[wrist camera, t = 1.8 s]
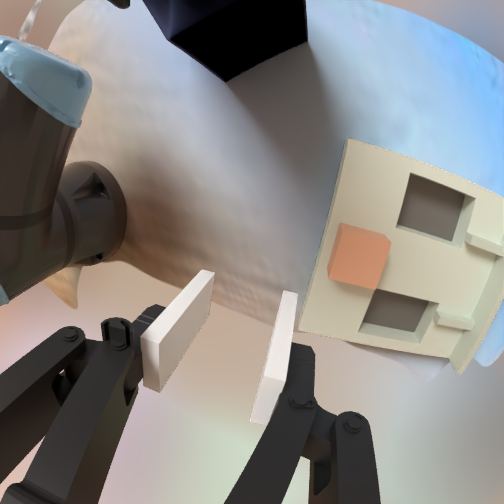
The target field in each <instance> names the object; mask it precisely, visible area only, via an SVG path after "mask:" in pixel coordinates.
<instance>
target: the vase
mask: <svg viewBox="0 0 504 504" xmlns="http://www.w3.org/2000/svg"><path fill="white" fill-rule="evenodd" d="M108 1H109V2H111V3H112V4H113V5H115V6H116V7H118V8H120V9H126V8H128V7H129V6H130V0H108ZM143 2H144V3H145V5H146V7H147V8H148V10H149V11H150V13H151V15H152V16H153V18H154V20H155V21H156V23H157V24H158V26H159V28H160V29H161V31H162V33H163V34H164V36H165V38H166V39H167V40H168V41H169V42H171V43H172V44H174V45H175V46H176V47H178V48H179V49H181V50H182V51H184V52H185V53H186V54H188V55H189V56H191V57H192V58H193V59H195V60H196V61H197V62H199V63H200V64H201V65H203V66H204V67H205V68H207V69H208V70H209V71H211V72H212V73H213V74H215V75H216V76H217V77H218V78H220V79H221V80H222V81H224V82H225V83H226V82H227V81H229V80H231V79H233V78H234V77H236V76H238V75H240V74H241V73H243V72H245V71H247V70H249V69H251V68H253V67H254V66H256V65H258V64H260V63H262V62H264V61H266V60H268V59H270V58H272V57H274V56H276V55H278V54H281V53H283V52H285V51H287V50H289V49H291V48H294V47H296V46H298V45H300V44H303V43H305V42H307V41H308V31H307V14H306V0H143Z"/></svg>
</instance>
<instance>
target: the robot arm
mask: <svg viewBox="0 0 504 504" xmlns="http://www.w3.org/2000/svg"><path fill="white" fill-rule="evenodd" d="M91 90H92V80H91V77H90V75H89V74H88V72H87V71H86V70H84V69H83V68H81V67H80V66H78V65H76V64H74V63H72V62H70V61H69V60H67V59H64V58H62V57H60V56H58V55H56V54H54V53H52V52H49V51H47V50H45V49H42V48H40V47H37V46H35V45H32V44H29V43H26V42H23V41H20V40H17V39H15V38H11V37H8V36H0V306H2V305H4V304H8V303H9V301H10V300H12V299H13V298H15V297H17V296H18V295H20V294H21V293H23V292H25V291H26V290H28V289H29V288H31V287H32V286H34V285H35V284H37V283H39V282H41V281H43V280H44V279H46V278H48V277H49V276H51V275H53V274H55V273H56V272H58V271H60V270H62V269H63V268H65V267H78V266H91V265H95V264H98V263H100V262H102V261H104V260H105V259H107V258H109V257H110V256H112V255H113V254H114V253H115V252H116V251H117V249H118V248H119V246H120V244H121V242H122V240H123V237H124V233H125V228H126V209H125V203H124V199H123V195H122V192H121V190H120V187H119V185H118V183H117V182H116V180H115V178H114V177H113V176H112V174H111V173H110V172H109V171H108V170H107V169H106V168H104V167H103V166H102V165H100V164H98V163H96V162H92V161H81V162H74V163H70V164H68V165H66V166H64V165H65V162H66V158H67V155H68V152H69V149H70V146H71V144H72V141H73V138H74V135H75V133H76V130H77V128H79V127H80V126H81V123H82V120H81V118H82V115H83V112H84V109H85V107H86V104H87V101H88V99H89V96H90V94H91ZM214 277H215V273H214V272H210V271H206V270H203V269H202V270H201V271H200V272H199V273H198V274H197V275H196V276H195V277H194V278H193V279H192V280H191V282H190V283H189V284H188V285H187V286H186V287H185V288H184V289H183V290H182V291H181V292H180V294H179V295H178V296H177V297H176V298H175V299H174V300H173V301H172V302H171V303H170V304H169V306H168V307H167V308H166V307H163V306H160V305H157V304H155V305H153V306H151V307H148V308H147V309H146V310H145V311H144V312H143V313H142V314H141V315H140V316H139V317H138V318H137V319H136V320H135V321H134V322H133V323H131V322H129V321H128V320H126V319H123V318H117V317H115V318H109V319H106V320H104V321H103V322H102V323H101V329H102V337H103V341H96V340H90V339H86V338H85V334H84V331H83V330H81V329H80V328H78V327H75V326H68V327H63V328H61V329H59V330H58V331H57V332H55V333H54V334H53V335H51V336H50V337H49V338H47V339H46V340H45V341H43V342H42V343H40V344H39V345H38V346H36V347H35V348H34V349H33V350H31V351H30V352H29V353H27V354H26V355H25V356H23V357H22V358H21V359H19V360H18V361H17V362H15V364H13V365H12V366H10V367H9V368H8V369H7V370H5V371H4V372H3V373H1V374H0V484H1V483H2V481H4V479H5V478H6V477H7V476H8V475H9V474H10V473H11V472H12V471H13V470H14V469H15V467H16V466H17V465H18V464H19V463H20V462H21V461H22V460H23V459H24V458H25V456H26V455H27V454H28V453H29V452H30V451H31V450H32V449H33V448H34V447H35V446H36V445H37V444H38V443H39V442H40V441H41V439H42V438H43V437H44V436H45V435H46V436H45V438H44V440H43V442H42V443H41V445H40V447H39V449H38V451H37V453H36V455H35V457H34V459H33V461H32V463H31V465H30V467H29V469H28V471H27V473H26V475H25V478H24V479H23V481H21V482H20V483H14V484H11V485H10V486H9V487H8V488H7V490H6V491H5V493H4V495H3V498H2V500H1V502H0V504H98V501H99V498H100V495H101V492H102V489H103V486H104V483H105V480H106V477H107V474H108V471H109V469H110V466H111V463H112V460H113V457H114V454H115V452H116V449H117V446H118V443H119V441H120V438H121V435H122V433H123V430H124V427H125V425H126V422H127V419H128V417H129V414H130V411H131V409H132V406H133V404H134V401H135V398H136V396H137V394H138V383H139V382H140V381H141V379H142V378H143V385H144V386H145V387H147V388H149V389H152V390H154V391H157V392H161V390H162V388H163V387H164V385H165V384H166V382H167V381H168V379H169V377H170V376H171V374H172V372H173V371H174V370H175V368H176V367H177V365H178V363H179V362H180V360H181V359H182V357H183V355H184V354H185V352H186V351H187V349H188V347H189V346H190V344H191V342H192V341H193V340H194V338H195V337H196V335H197V333H198V332H199V330H200V329H201V327H202V326H203V324H204V322H205V321H206V319H207V318H208V316H209V312H210V305H211V298H212V291H213V284H214ZM297 295H298V294H296V293H292V292H288V291H283V294H282V298H281V302H280V306H279V309H278V313H277V317H276V320H275V324H274V328H273V331H272V335H271V339H270V344H269V347H268V352H267V355H266V359H265V363H264V368H263V371H262V375H261V379H260V383H259V386H258V390H257V394H256V397H255V401H254V405H253V409H252V412H251V416H250V420H249V421H250V422H253V423H257V424H262V425H266V426H267V427H266V429H265V431H264V433H263V435H262V437H261V439H260V440H259V442H258V444H257V446H256V448H255V450H254V452H253V454H252V455H251V457H250V459H249V461H248V463H247V465H246V466H245V468H244V470H243V472H242V474H241V475H240V477H239V479H238V481H237V482H236V484H235V486H234V487H233V489H232V491H231V492H230V494H229V496H228V498H227V499H226V501H225V502H224V504H281V503H282V501H283V499H284V496H285V494H286V492H287V489H288V487H289V484H290V482H291V479H292V477H293V474H294V472H295V469H296V467H297V464H298V462H299V459H300V456H302V457H305V458H307V459H309V460H310V480H309V500H308V504H381V503H380V492H379V484H378V475H377V468H376V461H375V454H374V448H373V441H372V435H371V429H370V425H369V422H368V420H367V419H366V418H365V417H364V416H362V415H360V414H359V413H356V412H352V411H349V412H343V413H341V414H339V415H338V416H337V415H334V414H332V413H329V412H327V411H326V410H324V409H322V408H321V407H320V406H319V405H318V404H317V401H316V399H315V397H314V379H315V378H314V377H315V371H314V370H315V353H314V351H313V349H312V348H311V346H306V345H302V344H297V343H293V342H292V335H293V327H294V320H295V312H296V304H297ZM63 369H64V371H63V372H62V373H60V372H61V371H62V370H63ZM59 373H60V374H59Z"/></svg>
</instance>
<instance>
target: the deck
mask: <svg viewBox="0 0 504 504" xmlns="http://www.w3.org/2000/svg"><path fill="white" fill-rule="evenodd" d="M339 223H344V224H348V225H352V226H356V227H359V228H363V229H367V230H370V231H374V232H378V233H381V234H385V236H386V237H387V238H388V239H389V240H390V241H391V242H392V243H391V246H390V250H389V253H388V256H387V259H386V262H385V264H384V267H383V270H382V273H381V276H380V279H379V281H378V284H377V287H376V289H375V290H374V289H370V288H366V287H361V286H357V285H353V284H349V283H345V282H341V281H337V280H332V279H328V272H327V265H328V262H329V259H330V255H331V252H332V248H333V245H334V241H335V237H336V234H337V230H338V226H339ZM503 298H504V198H503V197H501V196H499V195H498V194H496V193H494V192H492V191H490V190H488V189H485V188H483V187H481V186H479V185H477V184H475V183H473V182H471V181H468V180H466V179H464V178H462V177H459V176H457V175H455V174H452V173H450V172H448V171H445V170H443V169H440V168H438V167H435V166H433V165H430V164H427V163H425V162H422V161H419V160H417V159H414V158H411V157H408V156H406V155H403V154H400V153H397V152H394V151H391V150H388V149H385V148H381V147H378V146H375V145H372V144H368V143H365V142H361V141H358V140H354V139H351V138H348V139H346V140H345V144H344V149H343V153H342V158H341V163H340V167H339V172H338V176H337V181H336V185H335V189H334V193H333V198H332V202H331V206H330V210H329V214H328V218H327V222H326V226H325V230H324V233H323V237H322V241H321V245H320V248H319V252H318V256H317V259H316V263H315V266H314V270H313V273H312V277H311V280H310V284H309V287H308V290H307V294H306V297H305V300H304V304H303V307H302V310H301V313H300V317H299V325H298V330H299V331H304V332H308V333H312V334H317V335H322V336H326V337H331V338H335V339H340V340H345V341H350V342H355V343H360V344H365V345H370V346H376V347H381V348H387V349H392V350H398V351H404V352H410V353H417V354H423V355H430V356H437V357H444V358H449V360H450V362H451V364H452V366H453V368H454V370H455V372H456V374H462V373H463V372H464V370H465V368H466V367H467V365H468V364H469V362H470V361H471V359H472V357H473V356H474V354H475V352H476V351H477V349H478V347H479V346H480V344H481V342H482V340H483V338H484V337H485V335H486V333H487V331H488V329H489V327H490V325H491V323H492V321H493V319H494V317H495V315H496V313H497V311H498V309H499V307H500V305H501V303H502V301H503Z"/></svg>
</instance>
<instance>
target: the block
mask: <svg viewBox="0 0 504 504" xmlns="http://www.w3.org/2000/svg"><path fill="white" fill-rule="evenodd" d="M391 243H392V242H391V241H390V240H389V239H388V238H387V237H386V236H385V234H381V233H378V232H374V231H370V230H367V229H363V228H359V227H356V226H352V225H348V224H344V223H339V226H338V230H337V234H336V237H335V241H334V245H333V248H332V252H331V255H330V259H329V262H328V265H327V272H328V279H332V280H337V281H341V282H345V283H349V284H353V285H357V286H361V287H366V288H370V289H374V290H375V289H376V287H377V284H378V281H379V279H380V276H381V273H382V270H383V267H384V264H385V262H386V259H387V256H388V253H389V250H390V246H391Z"/></svg>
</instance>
